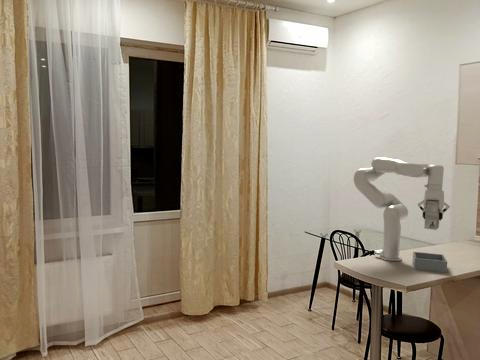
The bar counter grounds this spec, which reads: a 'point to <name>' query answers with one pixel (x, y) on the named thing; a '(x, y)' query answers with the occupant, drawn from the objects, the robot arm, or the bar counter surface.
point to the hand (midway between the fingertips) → (432, 219)
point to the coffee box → (432, 214)
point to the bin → (429, 262)
